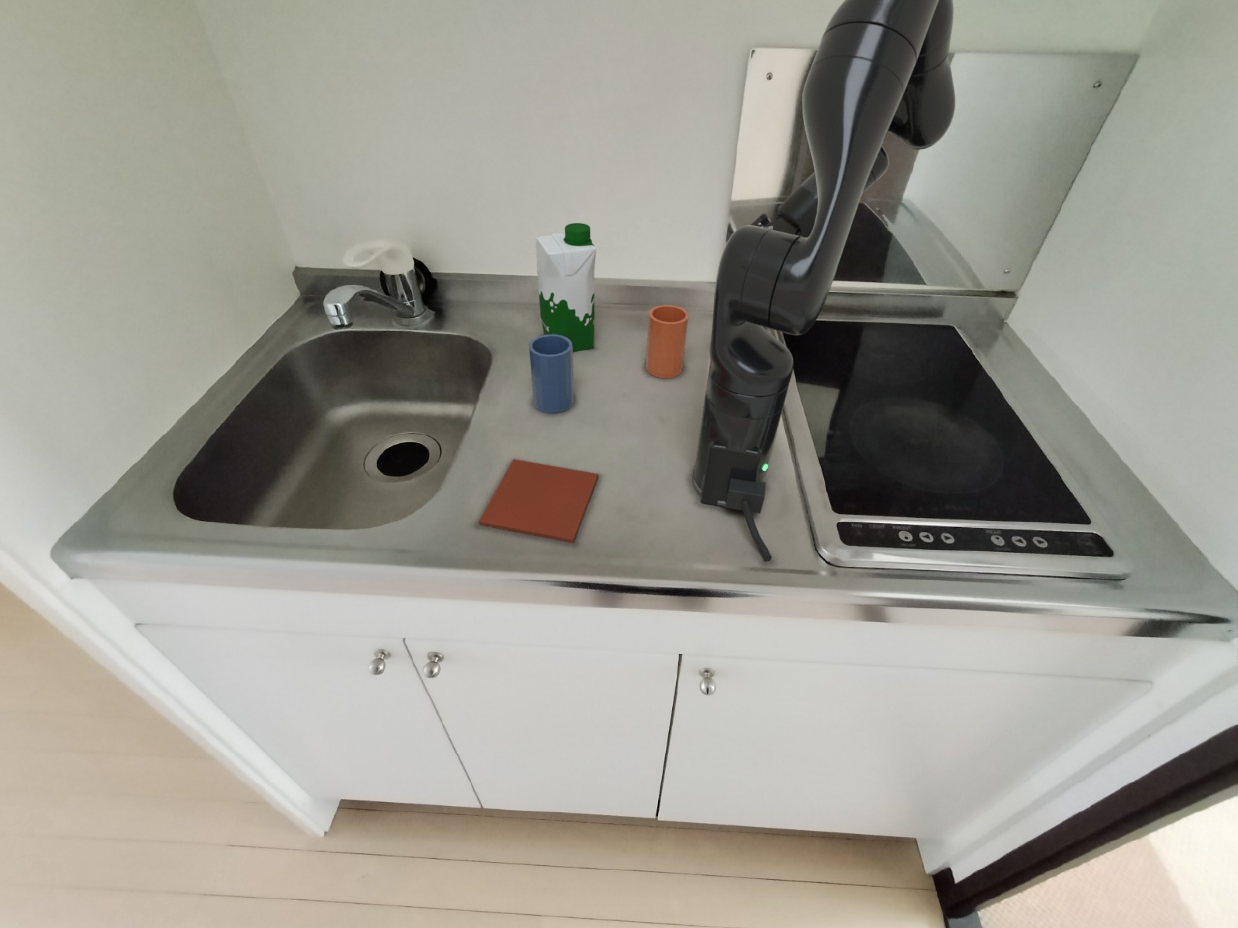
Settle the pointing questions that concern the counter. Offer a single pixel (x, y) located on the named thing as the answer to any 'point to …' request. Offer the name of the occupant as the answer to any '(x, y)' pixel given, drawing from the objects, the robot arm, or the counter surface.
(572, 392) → the blue cup
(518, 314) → the counter surface
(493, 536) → the counter surface
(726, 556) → the counter surface
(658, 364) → the clay cup
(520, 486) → the clay mat
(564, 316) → the milk carton
